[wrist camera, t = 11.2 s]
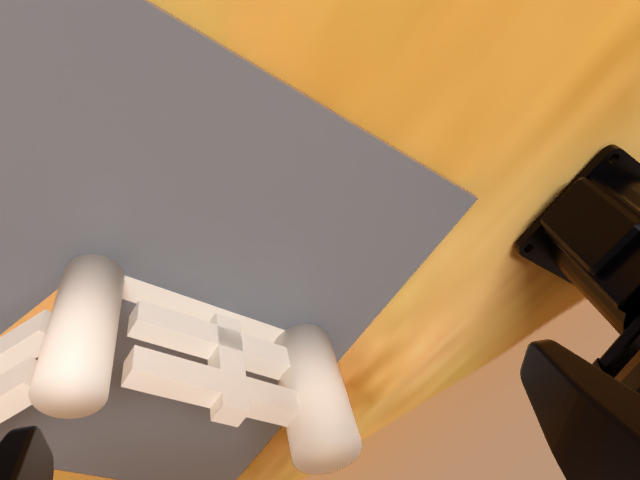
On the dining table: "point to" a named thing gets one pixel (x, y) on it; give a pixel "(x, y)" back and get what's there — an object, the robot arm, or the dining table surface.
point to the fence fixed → (193, 367)
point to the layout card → (190, 212)
